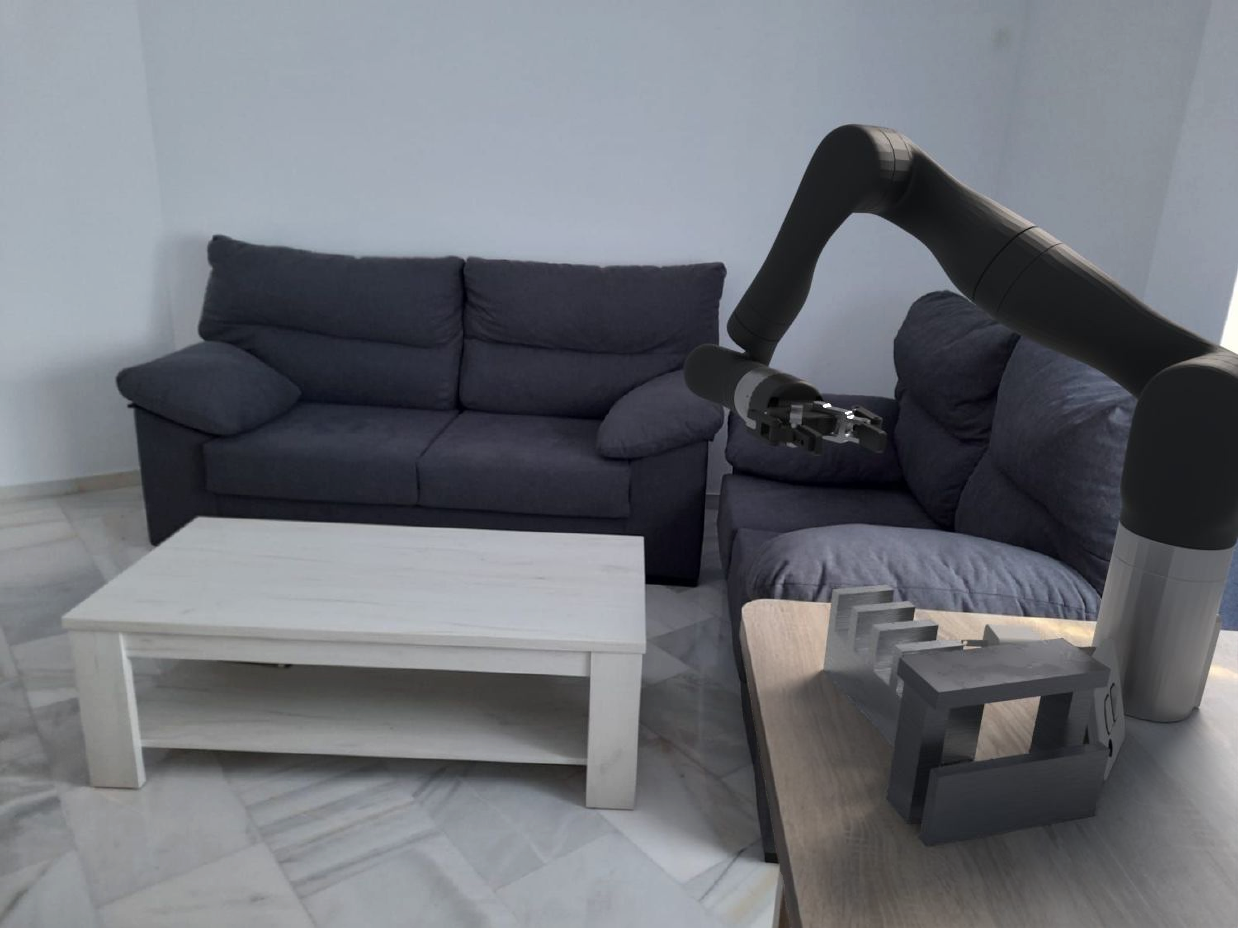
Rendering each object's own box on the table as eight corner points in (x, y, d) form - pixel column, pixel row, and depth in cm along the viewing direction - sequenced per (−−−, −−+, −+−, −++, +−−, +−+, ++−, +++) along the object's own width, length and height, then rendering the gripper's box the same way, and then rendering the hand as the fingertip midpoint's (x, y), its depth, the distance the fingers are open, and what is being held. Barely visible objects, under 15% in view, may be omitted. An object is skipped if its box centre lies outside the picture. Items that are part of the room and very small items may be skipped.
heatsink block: (876, 664, 90) (887, 584, 87) (974, 759, 75) (991, 666, 72) (822, 670, 88) (832, 589, 86) (912, 769, 74) (927, 674, 71)
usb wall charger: (1037, 678, 88) (1044, 642, 87) (968, 674, 88) (974, 639, 87) (1021, 657, 92) (1027, 623, 91) (954, 654, 92) (960, 620, 91)
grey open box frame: (1036, 764, 74) (1062, 637, 71) (1094, 815, 68) (1126, 679, 65) (879, 789, 70) (899, 657, 67) (927, 846, 64) (951, 703, 61)
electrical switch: (1104, 788, 72) (1115, 684, 70) (1036, 767, 75) (1044, 667, 73) (1126, 737, 79) (1136, 642, 77) (1063, 720, 82) (1071, 628, 80)
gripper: (721, 373, 99) (788, 409, 83) (836, 371, 103) (920, 405, 87) (717, 437, 101) (780, 484, 86) (829, 433, 105) (909, 477, 90)
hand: (850, 444), depth 87 cm, fingers open, 6 cm apart
